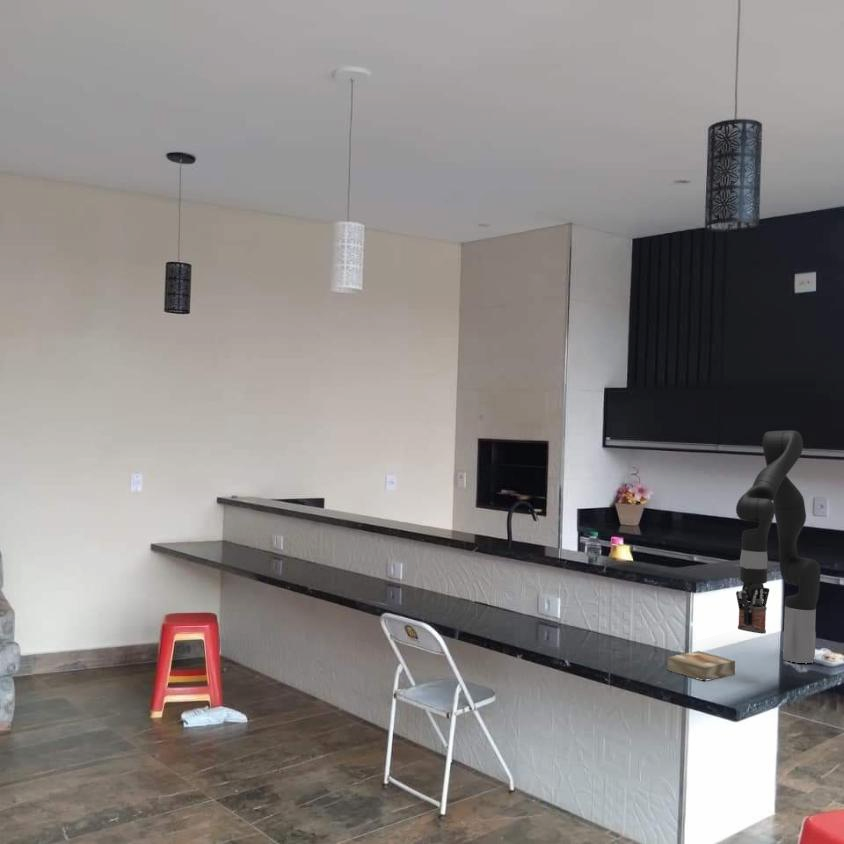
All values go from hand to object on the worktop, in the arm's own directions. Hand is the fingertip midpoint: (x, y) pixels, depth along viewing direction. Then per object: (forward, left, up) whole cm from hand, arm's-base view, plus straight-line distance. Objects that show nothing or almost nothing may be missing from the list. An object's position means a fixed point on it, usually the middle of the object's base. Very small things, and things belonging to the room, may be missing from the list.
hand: (751, 623), depth 262 cm
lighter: (0, 0, -2) cm, 2 cm away
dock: (+5, -13, -17) cm, 22 cm away
